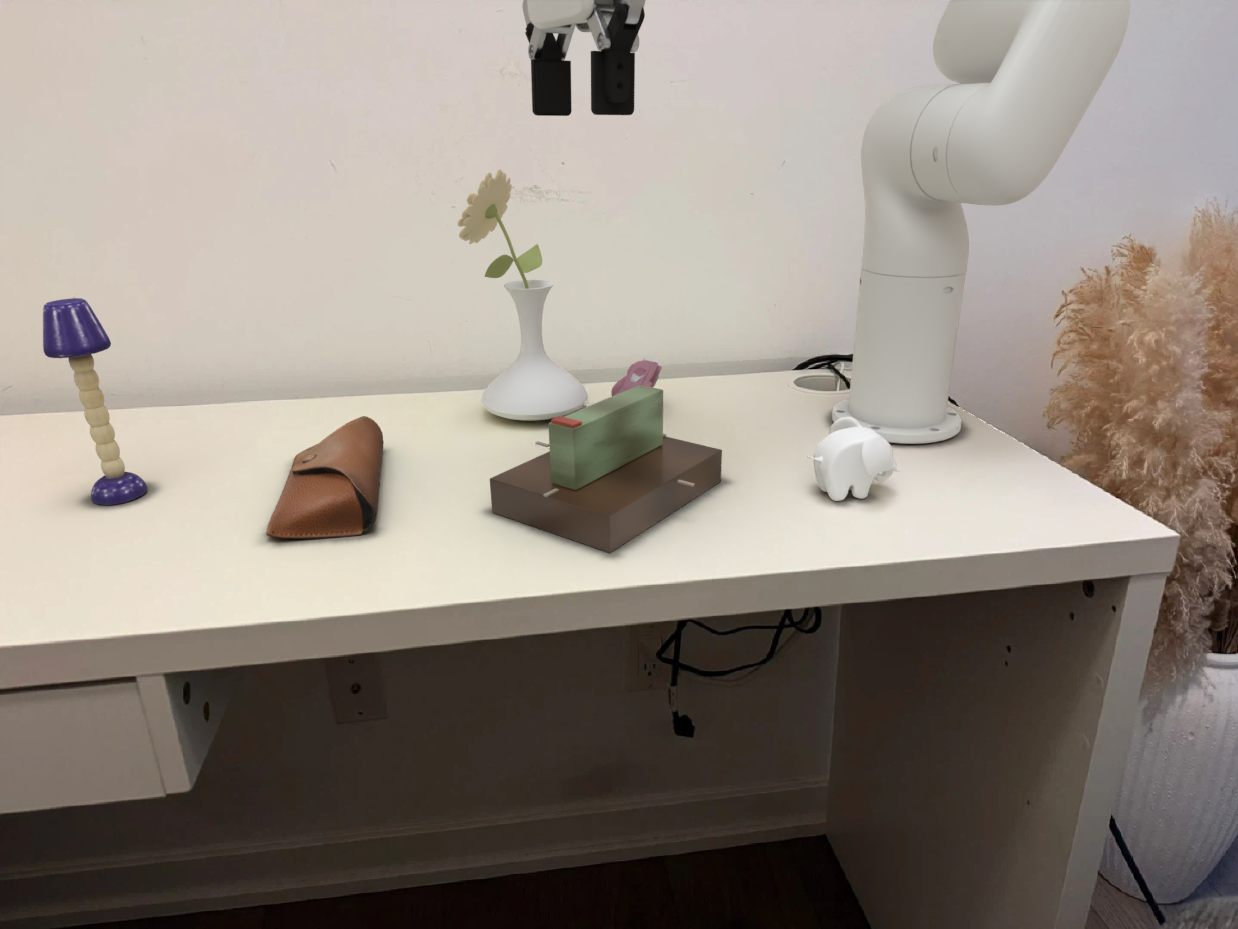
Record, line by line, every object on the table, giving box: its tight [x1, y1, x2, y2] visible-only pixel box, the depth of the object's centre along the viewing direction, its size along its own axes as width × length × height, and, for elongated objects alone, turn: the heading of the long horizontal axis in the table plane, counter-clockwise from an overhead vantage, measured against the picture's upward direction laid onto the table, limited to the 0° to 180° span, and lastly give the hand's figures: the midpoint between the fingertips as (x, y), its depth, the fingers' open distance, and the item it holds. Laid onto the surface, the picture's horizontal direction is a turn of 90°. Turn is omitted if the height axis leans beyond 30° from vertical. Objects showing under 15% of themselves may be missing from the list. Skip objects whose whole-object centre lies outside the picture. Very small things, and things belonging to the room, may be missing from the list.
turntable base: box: [489, 433, 723, 554], centre depth 71 cm, size 16×16×3 cm
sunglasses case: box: [265, 415, 385, 540], centre depth 72 cm, size 18×7×7 cm
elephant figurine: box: [806, 417, 900, 502], centre depth 70 cm, size 7×8×6 cm
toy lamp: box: [42, 297, 148, 506], centre depth 70 cm, size 5×5×17 cm
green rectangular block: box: [547, 385, 664, 490], centre depth 69 cm, size 12×2×5 cm, turn 143°
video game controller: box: [610, 358, 663, 397], centre depth 90 cm, size 10×5×7 cm, turn 168°
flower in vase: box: [457, 169, 589, 422], centre depth 87 cm, size 13×11×25 cm
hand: (580, 115), depth 64 cm, fingers open, 9 cm apart
